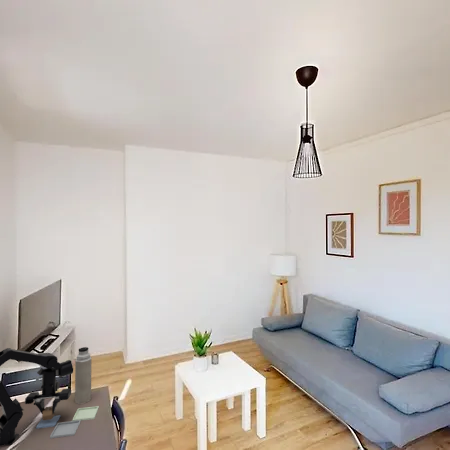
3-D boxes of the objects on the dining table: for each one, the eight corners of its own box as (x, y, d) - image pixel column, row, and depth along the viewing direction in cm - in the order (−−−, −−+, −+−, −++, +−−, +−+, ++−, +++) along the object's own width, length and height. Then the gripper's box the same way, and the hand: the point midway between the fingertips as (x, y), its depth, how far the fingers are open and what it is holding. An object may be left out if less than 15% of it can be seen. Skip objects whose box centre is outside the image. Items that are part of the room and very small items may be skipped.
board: (54, 427, 141) (54, 424, 141) (35, 429, 140) (35, 427, 140) (60, 417, 149) (60, 415, 149) (42, 419, 147) (42, 417, 147)
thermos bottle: (80, 396, 168) (80, 345, 170) (94, 396, 168) (94, 345, 169) (71, 404, 160) (72, 350, 162) (86, 404, 160) (86, 351, 161)
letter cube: (51, 419, 143) (51, 410, 143) (42, 420, 142) (42, 411, 142) (54, 414, 147) (54, 405, 147) (45, 415, 146) (45, 406, 146)
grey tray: (74, 436, 134) (74, 433, 134) (49, 439, 132) (49, 436, 133) (80, 422, 144) (80, 420, 144) (57, 425, 142) (57, 422, 142)
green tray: (94, 419, 146) (94, 417, 146) (72, 422, 144) (72, 420, 144) (98, 408, 156) (98, 406, 156) (78, 410, 154) (78, 408, 154)
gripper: (74, 371, 155) (74, 402, 154) (34, 375, 151) (34, 407, 150) (67, 381, 144) (67, 415, 143) (24, 386, 140) (24, 420, 140)
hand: (48, 414), depth 144 cm, fingers closed on letter cube, 4 cm apart
